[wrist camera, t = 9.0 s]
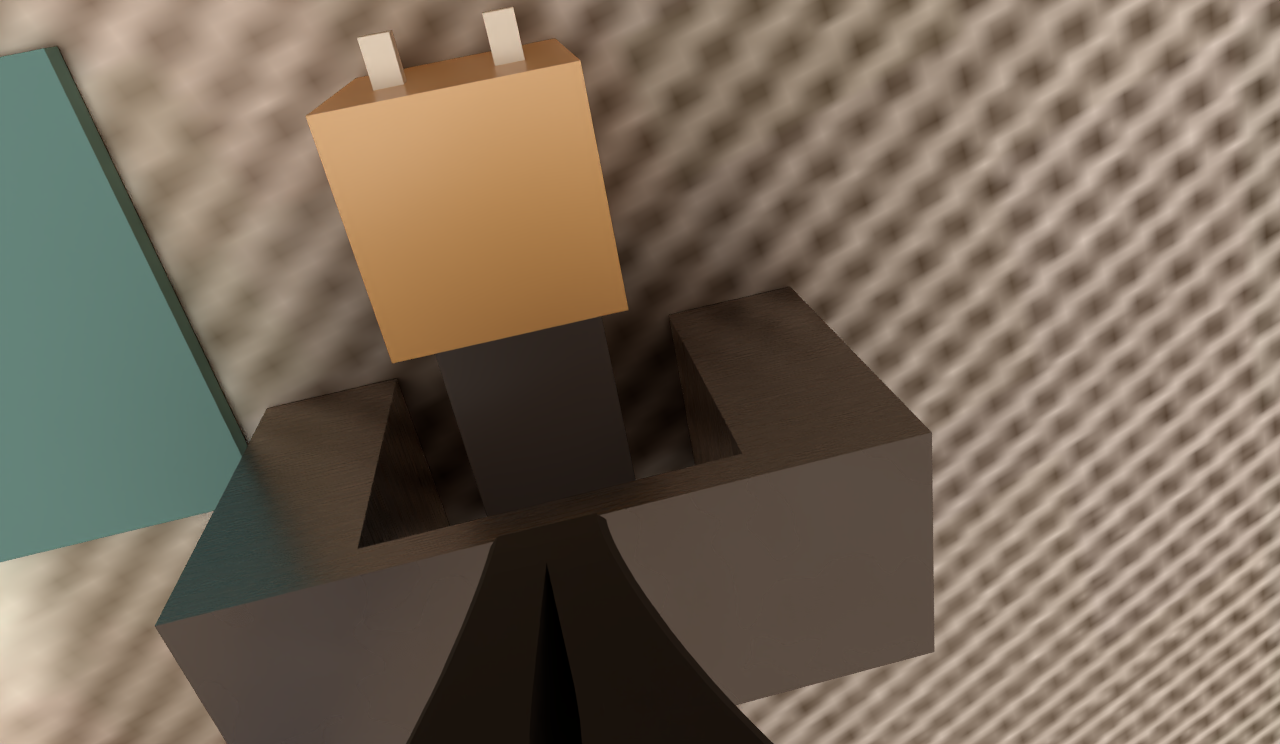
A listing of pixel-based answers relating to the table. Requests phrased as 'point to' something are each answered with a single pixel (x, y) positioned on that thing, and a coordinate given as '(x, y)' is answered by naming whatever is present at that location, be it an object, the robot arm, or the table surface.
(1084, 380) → the table surface
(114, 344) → the mat
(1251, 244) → the table surface
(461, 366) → the push rod
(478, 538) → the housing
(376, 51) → the plug
